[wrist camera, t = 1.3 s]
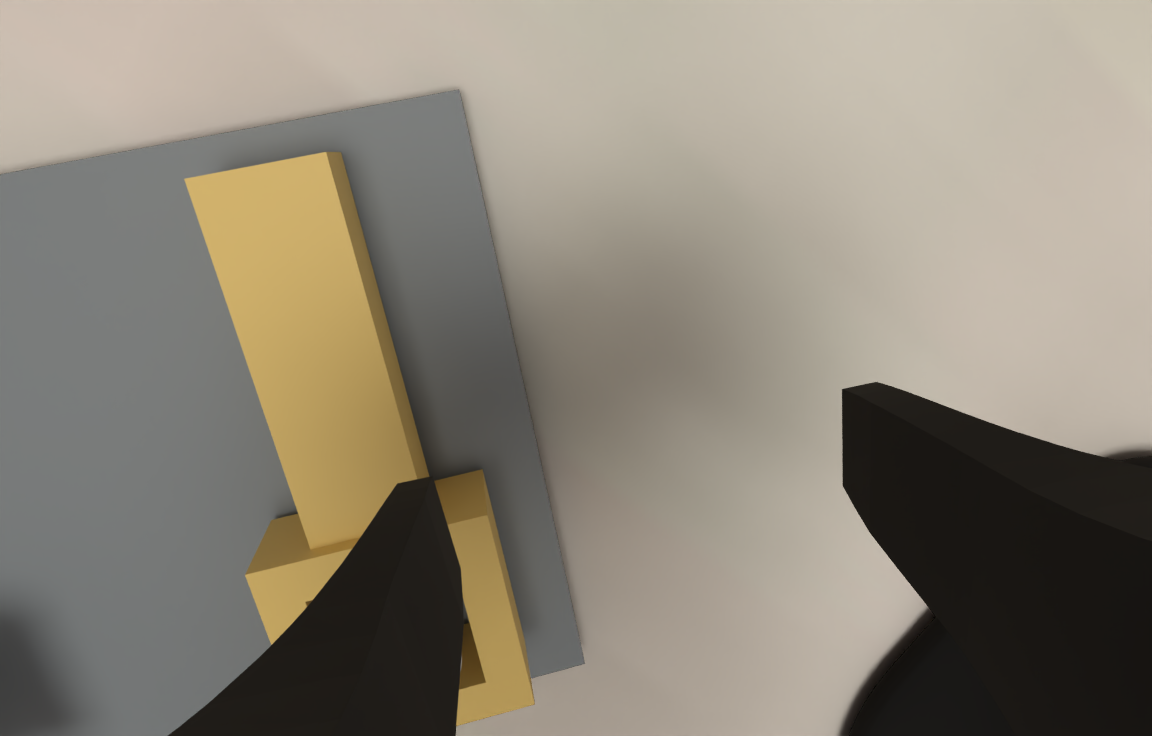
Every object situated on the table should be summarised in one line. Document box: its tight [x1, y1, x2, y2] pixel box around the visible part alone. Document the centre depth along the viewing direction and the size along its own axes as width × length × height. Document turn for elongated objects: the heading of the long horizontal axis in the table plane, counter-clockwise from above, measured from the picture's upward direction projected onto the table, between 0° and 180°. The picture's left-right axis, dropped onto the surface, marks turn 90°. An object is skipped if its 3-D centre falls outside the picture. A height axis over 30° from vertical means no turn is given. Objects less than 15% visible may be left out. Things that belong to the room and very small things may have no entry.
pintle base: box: [0, 90, 585, 736], centre depth 20 cm, size 19×22×5 cm
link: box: [184, 152, 535, 726], centre depth 20 cm, size 16×6×3 cm, turn 10°
